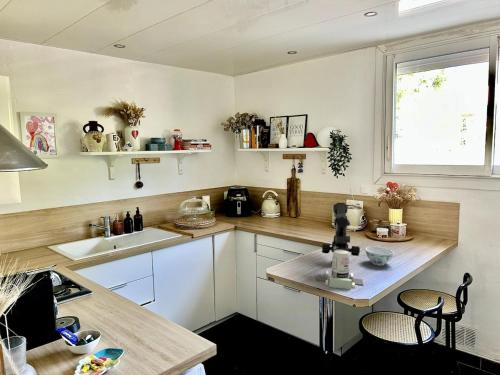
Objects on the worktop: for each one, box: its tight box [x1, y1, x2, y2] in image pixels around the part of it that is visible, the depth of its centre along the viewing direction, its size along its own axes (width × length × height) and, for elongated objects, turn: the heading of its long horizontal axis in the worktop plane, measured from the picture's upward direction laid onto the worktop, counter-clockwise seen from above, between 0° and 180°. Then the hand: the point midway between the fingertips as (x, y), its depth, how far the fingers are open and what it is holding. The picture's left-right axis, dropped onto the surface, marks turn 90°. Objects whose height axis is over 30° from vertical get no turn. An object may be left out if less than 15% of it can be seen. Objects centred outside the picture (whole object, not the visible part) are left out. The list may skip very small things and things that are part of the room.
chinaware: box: [365, 246, 394, 266], centre depth 210 cm, size 15×15×8 cm
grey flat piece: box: [316, 270, 364, 290], centre depth 183 cm, size 18×22×4 cm
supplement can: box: [331, 250, 351, 279], centre depth 182 cm, size 8×8×15 cm
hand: (340, 264), depth 186 cm, fingers closed
